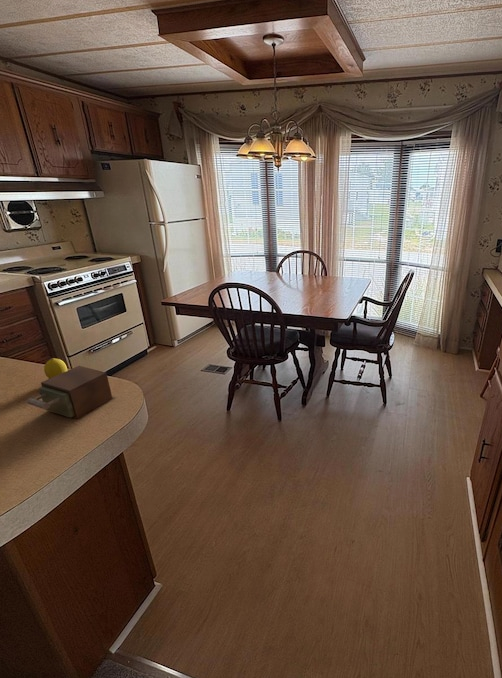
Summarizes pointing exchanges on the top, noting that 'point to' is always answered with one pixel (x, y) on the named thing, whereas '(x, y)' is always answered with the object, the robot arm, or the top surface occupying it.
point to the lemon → (54, 367)
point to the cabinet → (82, 388)
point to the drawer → (53, 401)
